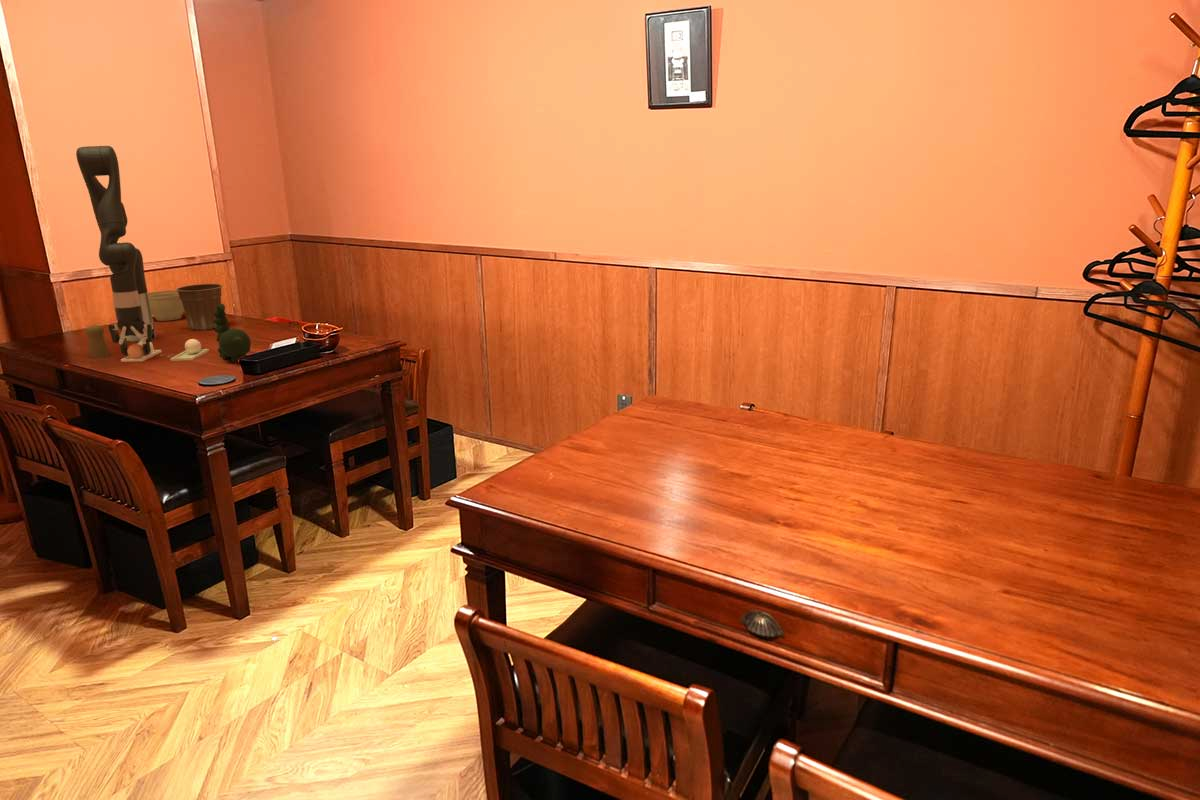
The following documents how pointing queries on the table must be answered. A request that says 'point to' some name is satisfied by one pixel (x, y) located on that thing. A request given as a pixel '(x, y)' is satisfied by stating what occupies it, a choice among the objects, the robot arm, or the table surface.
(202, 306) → the plant pot
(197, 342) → the ball
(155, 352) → the egg tray
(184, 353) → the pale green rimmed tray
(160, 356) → the card
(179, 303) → the planter bowl
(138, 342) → the ball
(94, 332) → the olive green waisted cylinder
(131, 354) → the ball
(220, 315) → the toy figurine
